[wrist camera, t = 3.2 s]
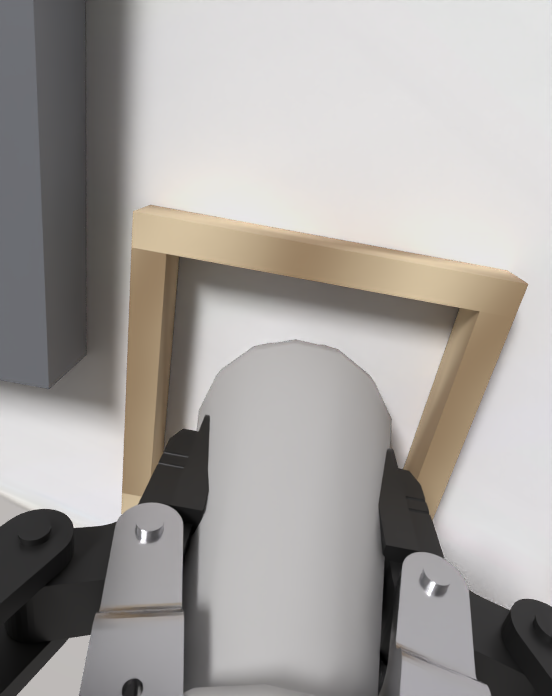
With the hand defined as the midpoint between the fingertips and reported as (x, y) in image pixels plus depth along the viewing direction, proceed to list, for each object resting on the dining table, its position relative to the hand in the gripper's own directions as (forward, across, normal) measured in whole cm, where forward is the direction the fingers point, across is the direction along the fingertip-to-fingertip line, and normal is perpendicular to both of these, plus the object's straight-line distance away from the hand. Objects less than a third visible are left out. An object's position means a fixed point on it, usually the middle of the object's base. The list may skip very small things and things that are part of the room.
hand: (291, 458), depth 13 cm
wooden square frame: (+4, 0, 0) cm, 4 cm away
